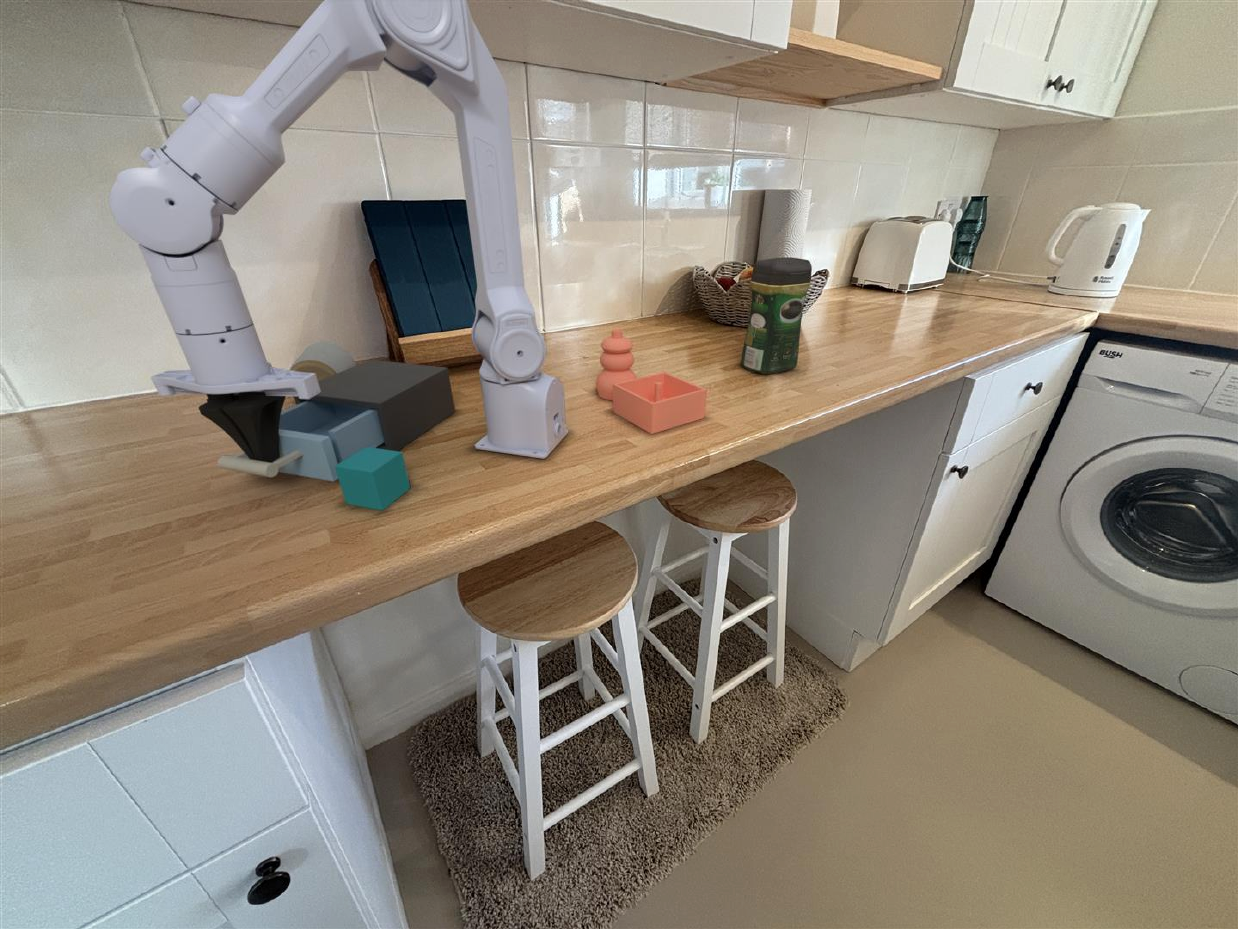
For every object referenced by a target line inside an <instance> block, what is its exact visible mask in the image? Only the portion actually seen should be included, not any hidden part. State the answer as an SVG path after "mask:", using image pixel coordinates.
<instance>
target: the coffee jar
mask: <svg viewBox="0 0 1238 929" xmlns="http://www.w3.org/2000/svg"><path fill="white" fill-rule="evenodd" d="M812 271H813V266H812V264H811V261H810V260H808V259H804V258H799V257H793V256H792V257H791V256H789V257H787V256H785V257H774V258H767V259H766V258H765V259H759V260H757V261H756V262H755V263H754V264H753V267H752V273H751V278H750V281H749V284H750V290H751V306H750V311H749V318H748V323H747V328H746V332H745V333H746V334H745V338H744V342H743V345H742V346H743V347H742V351H741V359H740V364H741V366H742V367H743V368H744V369H746V370H747V371H749V372H752V373H760V374H763V375H770V374H775V373H783V372H787V371H791V370H794V369H795V368H796V367H797V366H798V360H799V350H800V337H801V327H802V320H803V310H804V306H805V301H806V298H807V294H808V292H809V289H810V287H811V283H812V282H811V281H812V273H813V272H812Z"/></svg>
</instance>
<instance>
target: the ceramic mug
mask: <svg viewBox="0 0 1238 929" xmlns="http://www.w3.org/2000/svg"><path fill="white" fill-rule="evenodd" d="M354 366H357V362H356V360H355V358H354V357H353V356H352V354H351V353H350V351H348V350H346V349H345V348H344V347H342V346H341V345H339V344H337V343H333V342H330V341H317V342H313V343H311V344H310V345H308V346H307V347H306V348H305V349H304V350H303V352H302V353H301V354H299V356H298V358H296V360H294V362H293V363H292V365H291V366H290V368H289V370H291V371H296V372H304V373H315V374H316V377H317V380H318V381H320V380H323V379H325V378H328V377H330V376H332V375H335V374H337V373H340V372H342V371H345V370H347V369H349V368H352V367H354Z"/></svg>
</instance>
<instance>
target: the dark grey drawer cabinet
mask: <svg viewBox="0 0 1238 929" xmlns="http://www.w3.org/2000/svg"><path fill="white" fill-rule="evenodd" d="M356 365H357V364H356ZM318 383H319V387H320V390H321V392H320V393H318V394H317V395H315V396H314V397H312V398H310V399H299V397H298V396H292V397H293V399H294V403H295V405H297V404H300V403H302V402H304V401H307V400H312V401H319V402H327V403H335V404H342V405H350V406H357V407H365V408H372V409H376V410H377V414H378V418H379V422H380V426H381V430H382V434H383V438H384V443H382V444H381V445H379V446H378V447H376V448H378V449H385V450H391V451H398V452H399V451H400V450H401V449H403V448H404V447H406V446H407V445H410V443H412V442H413V441H415V440H416V439H418V438H419V437H421V436H423V435H424V434H425V433H426V432H428V431H430V430H431V429H433V428H434V427H436V426H437V425H438V424H440V423H441V422H443V421H444V420H446V419H447V418H449V417H450V416H452V415H454V414H455V413H456V409H455V403H454V396H453V390H452V385H451V379H450V374H449V368H448V367H444V366H436V365H435V366H434V365H426V364H425V365H424V364H416V363H407V362H395V361H389V360H388V361H386V360H379V359H377V360H376V359H369V360H367V361H364V362H361V363H359V364H358V365H357V366H354V367H352V368H349V369H347V370H345V371H342V372H340V373H337V374H335V375H332V376H330V377H328V378H325V379H323V380H320V381H318Z"/></svg>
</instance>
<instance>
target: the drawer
mask: <svg viewBox="0 0 1238 929" xmlns="http://www.w3.org/2000/svg"><path fill="white" fill-rule="evenodd" d="M382 443H384V438H383V434H382V430H381V426H380V422H379V418H378V414H377V410H376V409H372V408H365V407H357V406H350V405H342V404H335V403H327V402H319V401H312V400H307V401H304V402H302V403H300V404H297V405H296V404H295V405H293V406H291V407H288V408H287V409H284V410H282V411H281V415H280V422H279V451H280V457H279V458H278V459H277V460H275V461H274V462H272V463H269V462H263V461H258V460H252V459H249V458H248V456H247V455H246V454H245V453H244V451H243V450H242V451H240V452H238V453H236V454H234V455H227V454H225V455H221V456H220V457H219V458H218V460H217V465H218V467H219V468H221V469H222V470H228V471H234V472H239V473H244V474H249V475H255V476H260V477H264V478H265V477H266V478H274V477H276V476H277V475H278V473H282V474H289V475H294V476H300V477H305V478H311V479H312V478H313V479H316V480H322V481H327V482H335V481H337V480H339V479H338V476H337V473H336V470H335V466H336V465H337V464H339V463H340V462H342V461H344V460H345V459H347V458H349V457H350V456H352V455H353V454H355V453H357V452H358V451H360V450H362V449H363V448H365V447H372V448H376V447H378V446H379V445H381V444H382Z"/></svg>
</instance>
